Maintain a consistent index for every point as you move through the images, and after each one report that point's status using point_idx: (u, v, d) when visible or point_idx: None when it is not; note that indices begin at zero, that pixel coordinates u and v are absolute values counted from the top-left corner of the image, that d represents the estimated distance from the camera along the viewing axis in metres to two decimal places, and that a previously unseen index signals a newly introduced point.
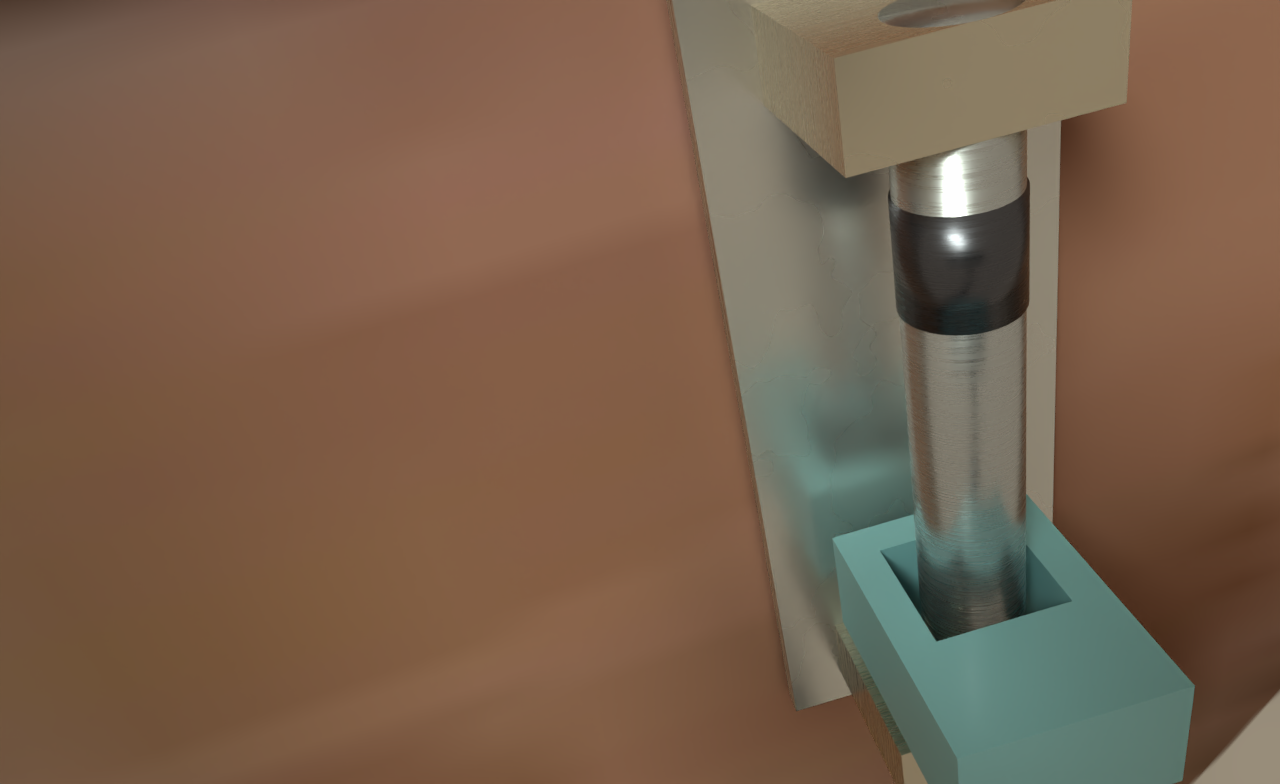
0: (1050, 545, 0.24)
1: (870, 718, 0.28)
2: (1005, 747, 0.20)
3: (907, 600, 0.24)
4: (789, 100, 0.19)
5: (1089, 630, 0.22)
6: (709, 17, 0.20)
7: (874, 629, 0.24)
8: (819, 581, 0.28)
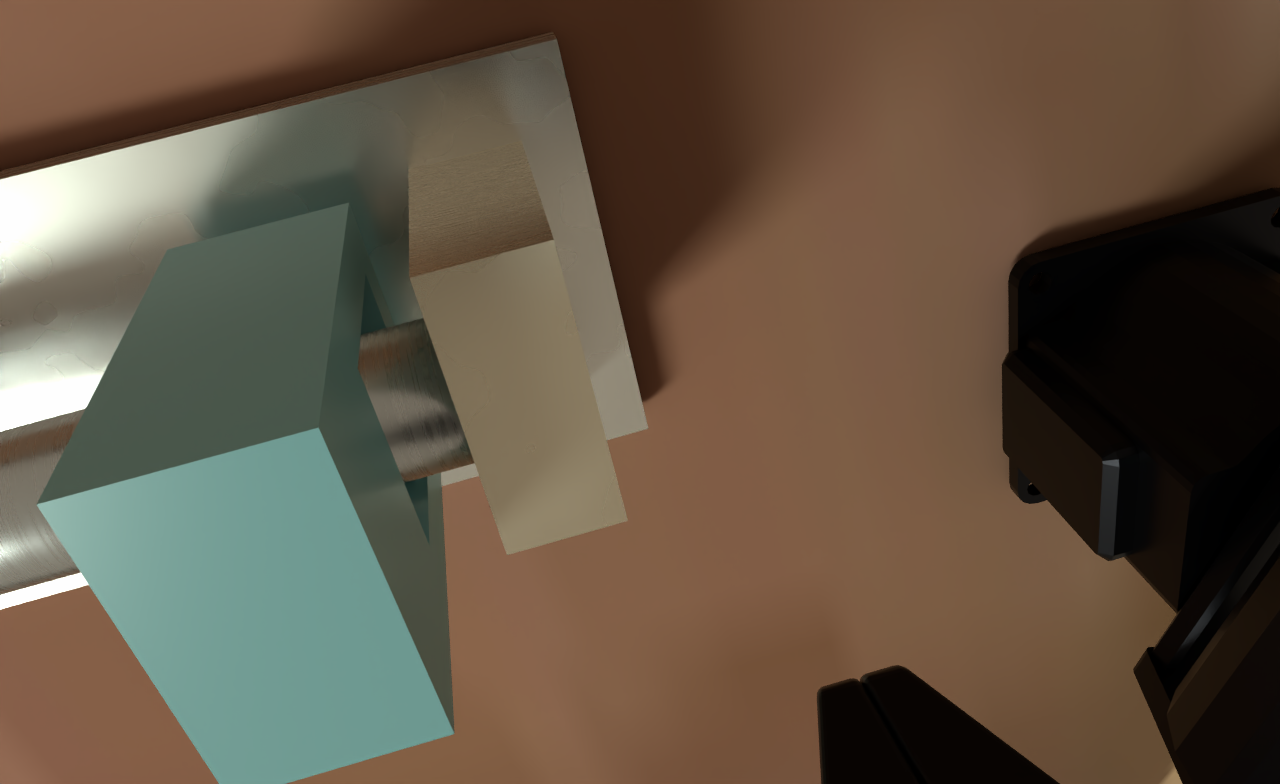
0: None
1: None
2: (206, 748, 0.13)
3: None
4: None
5: None
6: None
7: None
8: None
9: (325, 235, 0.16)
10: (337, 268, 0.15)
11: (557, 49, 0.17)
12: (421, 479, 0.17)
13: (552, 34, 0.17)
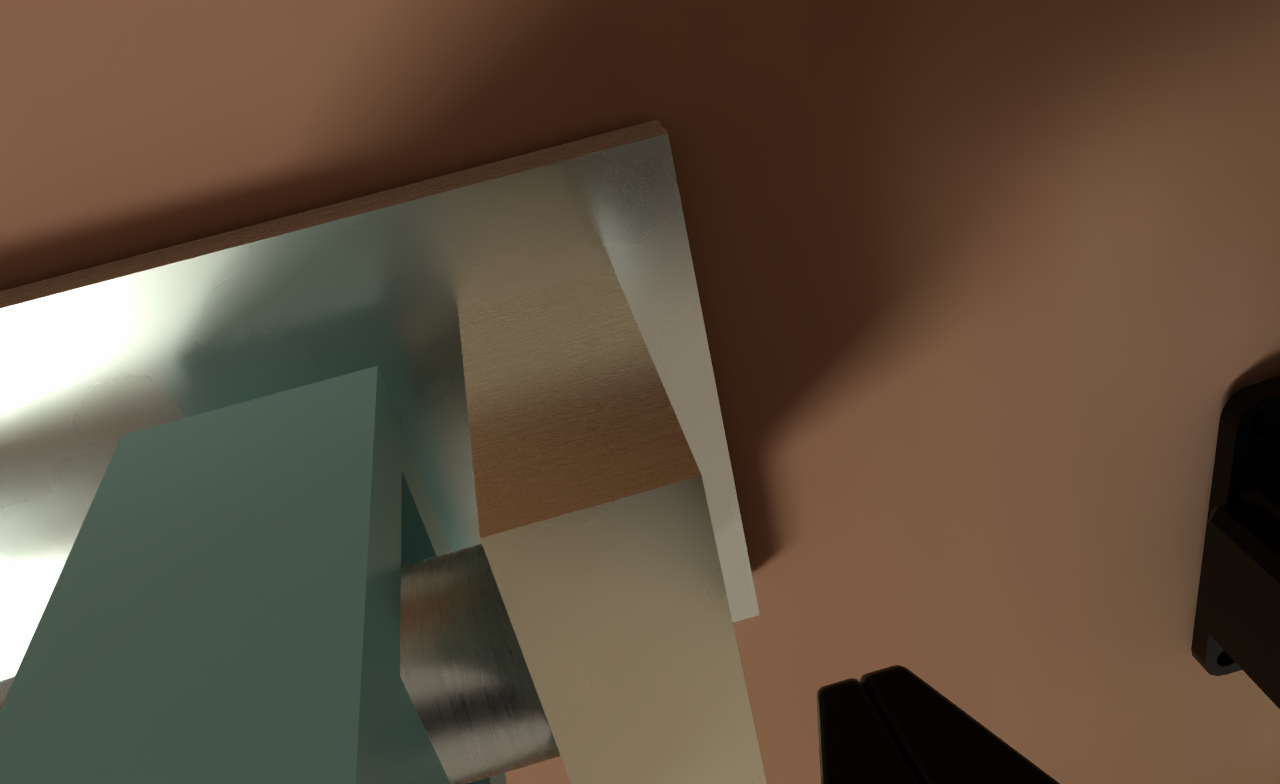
0: None
1: None
2: None
3: None
4: None
5: None
6: None
7: None
8: None
9: (345, 427, 0.11)
10: (366, 502, 0.10)
11: (668, 146, 0.12)
12: None
13: (659, 124, 0.13)
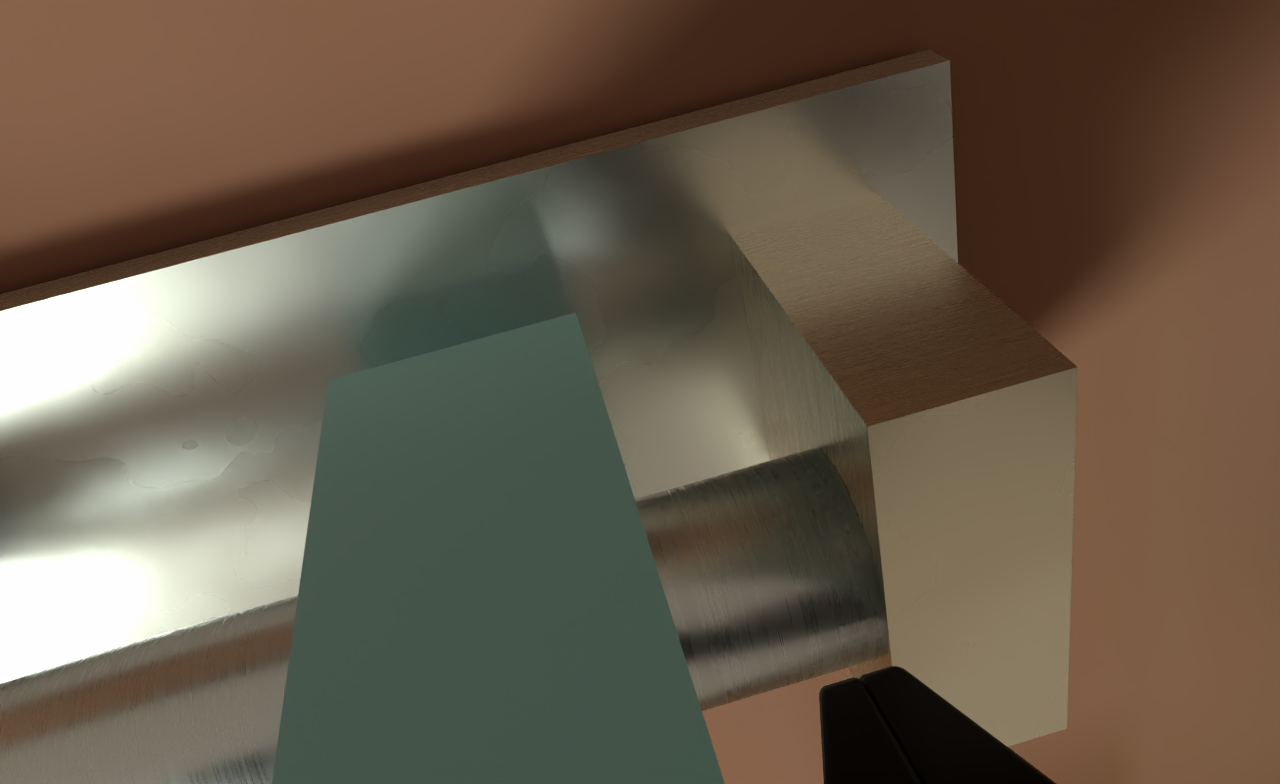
0: None
1: None
2: None
3: None
4: None
5: None
6: None
7: None
8: None
9: (563, 368, 0.11)
10: (609, 433, 0.10)
11: (947, 74, 0.13)
12: None
13: (933, 53, 0.13)
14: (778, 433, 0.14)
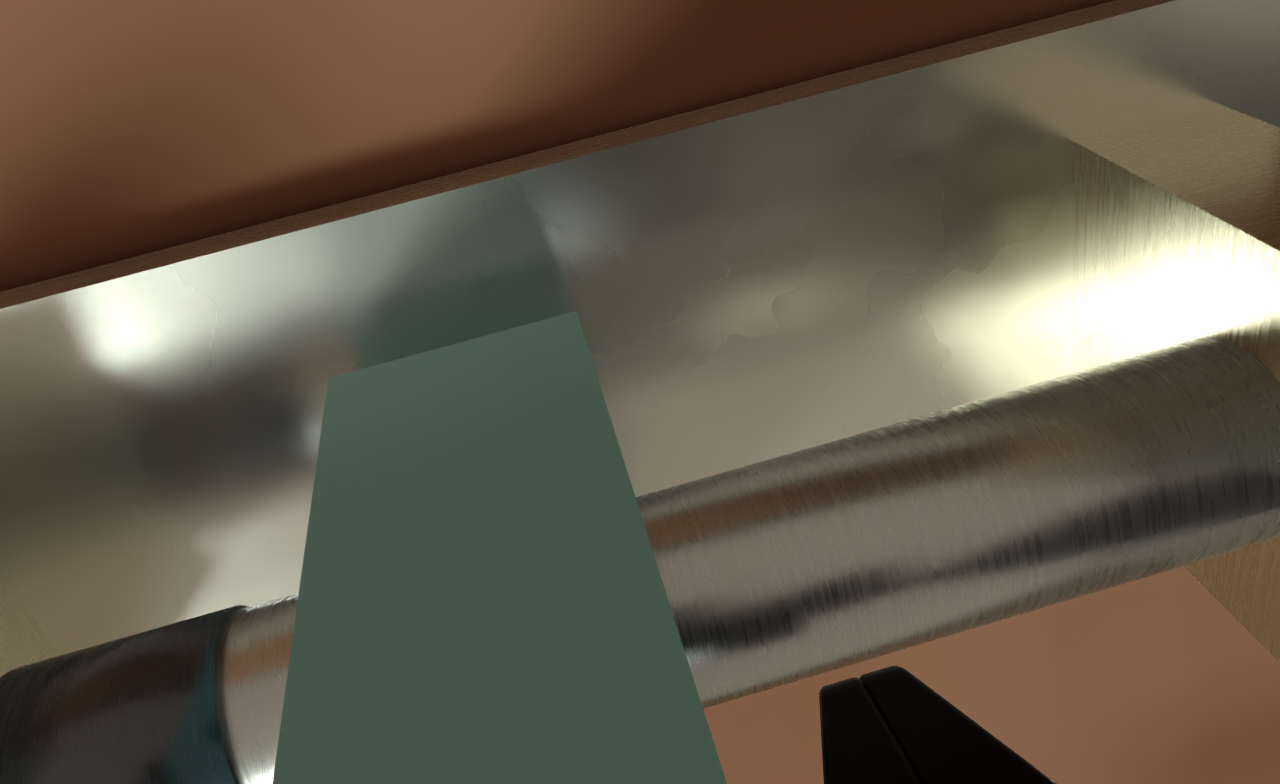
0: None
1: None
2: None
3: None
4: None
5: None
6: None
7: None
8: None
9: (563, 367, 0.11)
10: (609, 432, 0.10)
11: None
12: None
13: None
14: (1107, 339, 0.14)
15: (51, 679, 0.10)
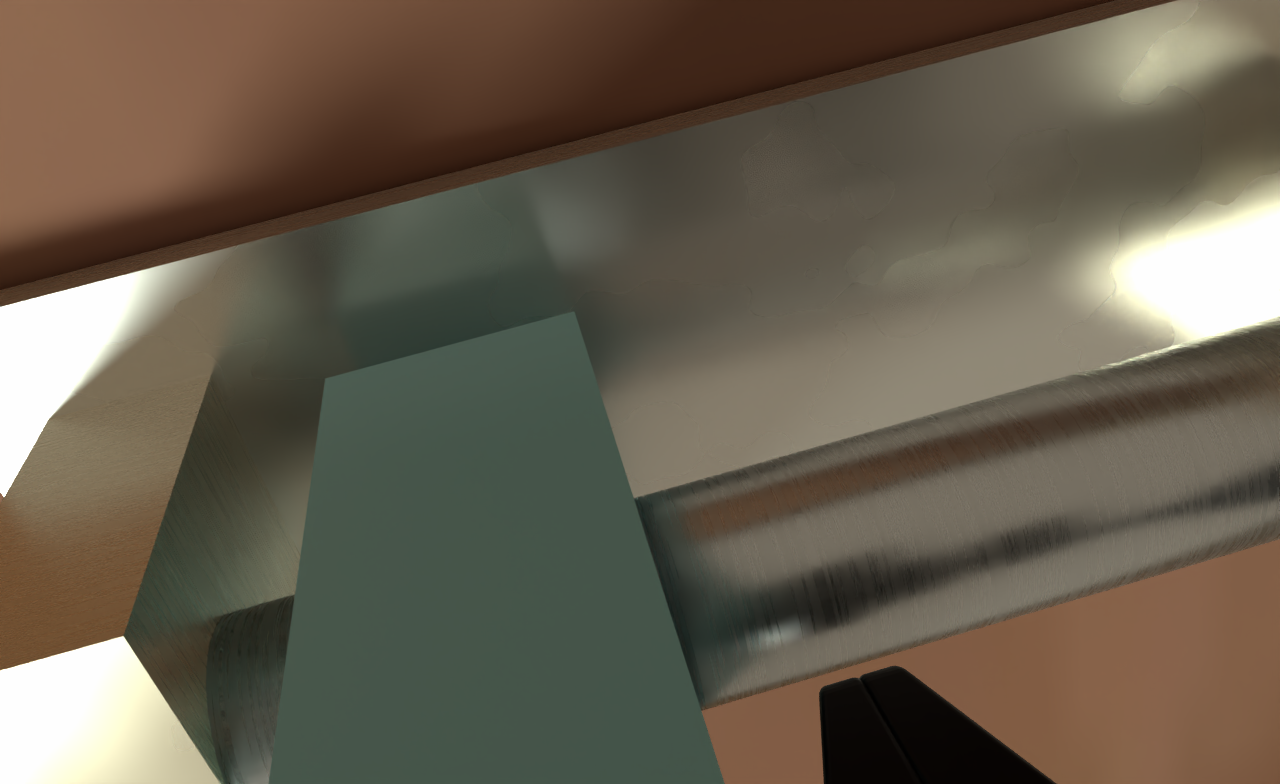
0: None
1: None
2: None
3: None
4: None
5: None
6: None
7: None
8: None
9: (561, 367, 0.11)
10: (608, 433, 0.10)
11: None
12: None
13: None
14: None
15: None
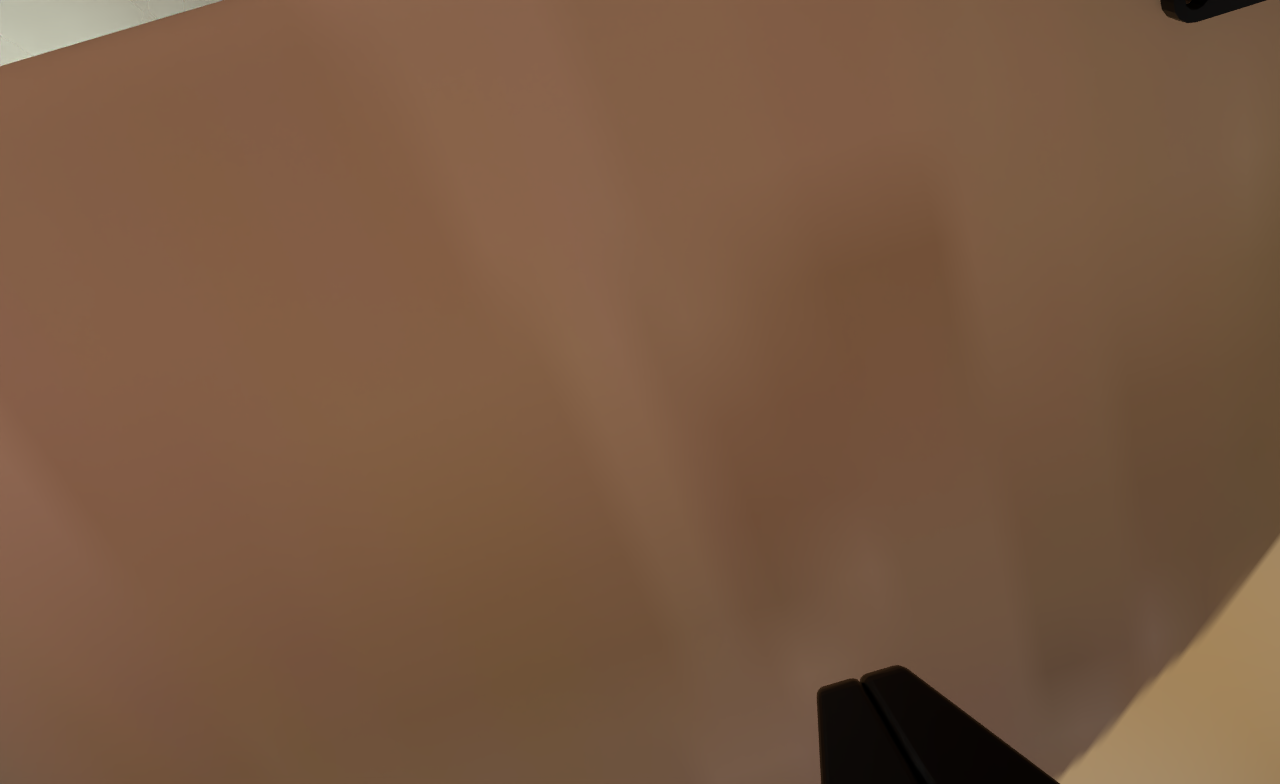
0: None
1: None
2: None
3: None
4: None
5: None
6: None
7: None
8: None
9: None
10: None
11: None
12: None
13: None
14: None
15: None
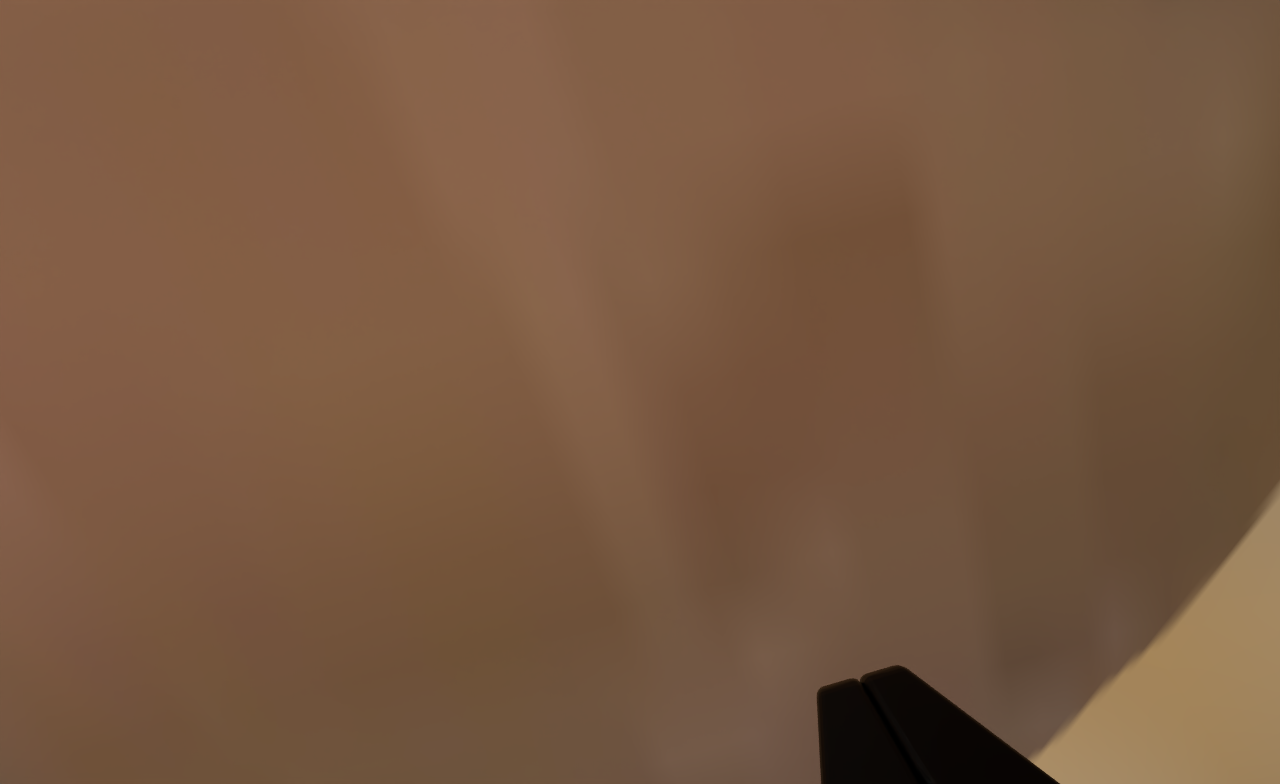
0: None
1: None
2: None
3: None
4: None
5: None
6: None
7: None
8: None
9: None
10: None
11: None
12: None
13: None
14: None
15: None
